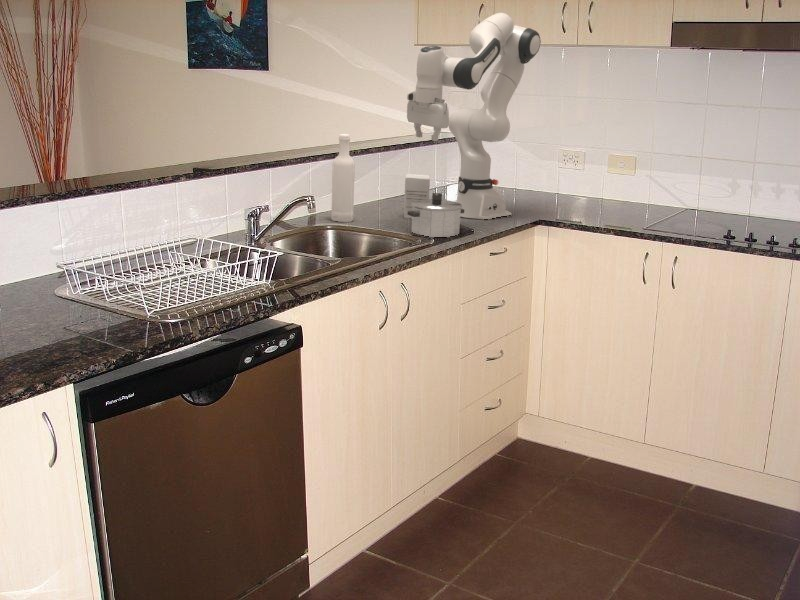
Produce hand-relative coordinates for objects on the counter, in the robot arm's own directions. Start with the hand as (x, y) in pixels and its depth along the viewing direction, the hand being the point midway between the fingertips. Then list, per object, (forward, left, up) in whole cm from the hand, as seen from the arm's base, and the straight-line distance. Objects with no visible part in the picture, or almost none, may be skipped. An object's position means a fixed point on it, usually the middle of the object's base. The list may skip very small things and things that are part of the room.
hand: (426, 138), depth 296 cm
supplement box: (-9, -18, -31) cm, 37 cm away
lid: (-1, +7, -23) cm, 24 cm away
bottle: (+20, -21, -31) cm, 42 cm away
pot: (-1, +7, -31) cm, 31 cm away
